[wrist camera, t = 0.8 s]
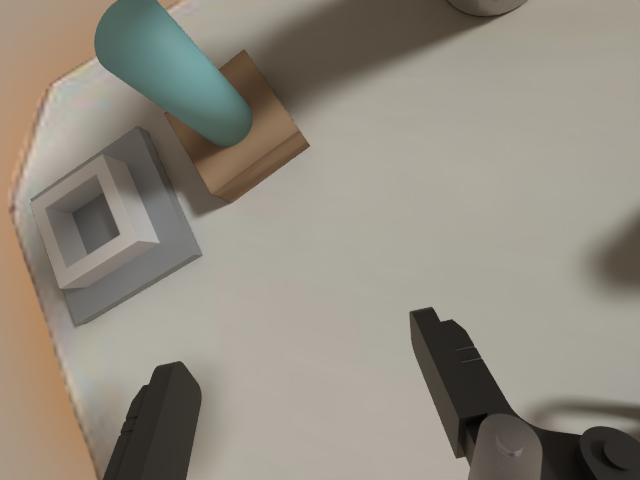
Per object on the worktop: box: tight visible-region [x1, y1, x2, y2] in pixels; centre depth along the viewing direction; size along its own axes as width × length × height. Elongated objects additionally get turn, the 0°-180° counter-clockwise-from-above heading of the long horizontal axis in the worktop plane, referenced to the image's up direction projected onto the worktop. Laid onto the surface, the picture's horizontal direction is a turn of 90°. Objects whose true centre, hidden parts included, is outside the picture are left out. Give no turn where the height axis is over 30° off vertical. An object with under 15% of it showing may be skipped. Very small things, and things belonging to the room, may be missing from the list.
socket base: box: [30, 126, 202, 325], centre depth 36 cm, size 16×16×4 cm
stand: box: [164, 50, 310, 203], centre depth 33 cm, size 10×10×4 cm
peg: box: [94, 0, 253, 147], centre depth 26 cm, size 5×5×12 cm
